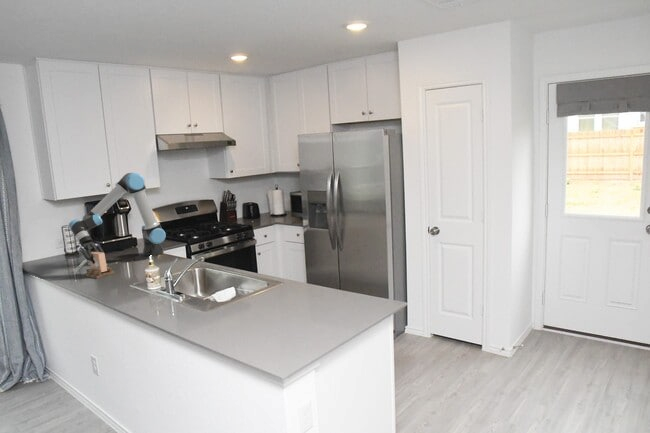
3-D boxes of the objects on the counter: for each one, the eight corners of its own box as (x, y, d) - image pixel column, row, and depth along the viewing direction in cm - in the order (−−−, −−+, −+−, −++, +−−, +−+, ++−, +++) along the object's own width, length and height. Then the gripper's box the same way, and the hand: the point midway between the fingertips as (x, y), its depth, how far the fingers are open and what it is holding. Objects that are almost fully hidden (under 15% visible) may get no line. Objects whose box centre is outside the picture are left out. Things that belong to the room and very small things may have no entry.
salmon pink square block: (91, 270, 305) (88, 252, 303) (97, 268, 308) (94, 251, 306) (101, 272, 298) (98, 254, 296) (107, 270, 301) (104, 252, 299)
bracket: (95, 260, 335) (89, 250, 330) (81, 281, 318) (75, 270, 312) (91, 261, 336) (85, 250, 330) (77, 281, 319) (70, 271, 313)
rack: (85, 275, 303) (84, 270, 302) (102, 271, 313) (101, 265, 312) (97, 278, 294) (96, 272, 294) (114, 273, 304) (113, 267, 303)
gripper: (95, 240, 316) (112, 265, 309) (70, 245, 302) (87, 272, 295) (98, 232, 312) (115, 258, 305) (72, 238, 298) (90, 265, 291)
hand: (101, 265), depth 300 cm, fingers open, 4 cm apart
